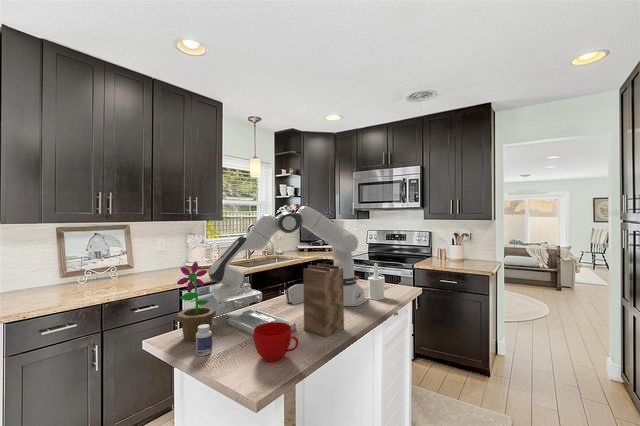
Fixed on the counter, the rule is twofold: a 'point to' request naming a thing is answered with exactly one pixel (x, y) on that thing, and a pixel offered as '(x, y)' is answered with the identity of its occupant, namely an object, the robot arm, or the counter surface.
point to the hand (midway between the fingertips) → (251, 302)
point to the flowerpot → (197, 314)
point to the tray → (249, 328)
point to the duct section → (256, 318)
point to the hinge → (295, 294)
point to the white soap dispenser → (376, 285)
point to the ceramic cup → (273, 340)
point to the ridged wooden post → (323, 299)
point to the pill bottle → (203, 340)
